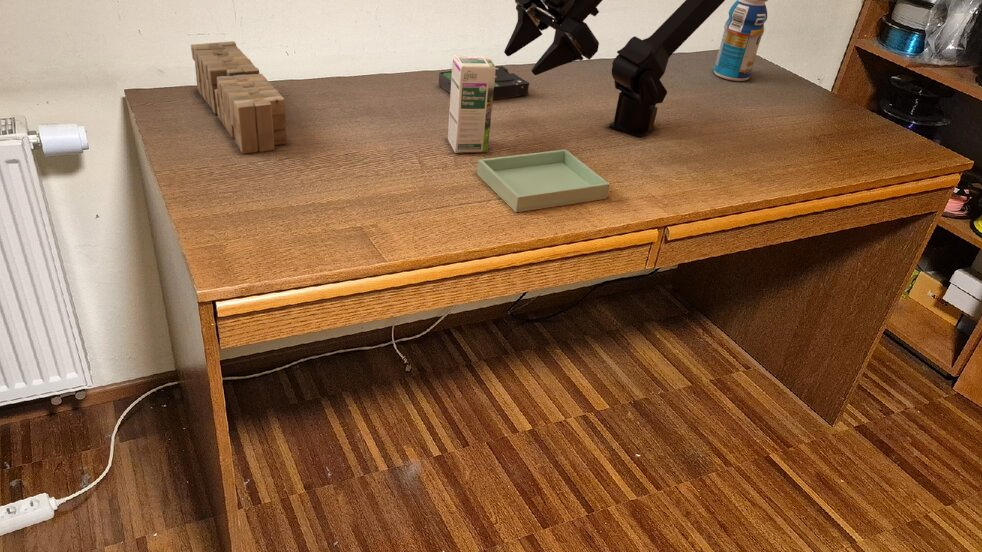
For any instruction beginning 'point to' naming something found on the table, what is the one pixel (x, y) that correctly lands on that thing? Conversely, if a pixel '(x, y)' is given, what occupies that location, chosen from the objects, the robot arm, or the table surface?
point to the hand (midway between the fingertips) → (519, 63)
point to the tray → (542, 180)
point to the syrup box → (471, 103)
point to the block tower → (240, 96)
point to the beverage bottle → (741, 39)
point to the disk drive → (495, 83)
